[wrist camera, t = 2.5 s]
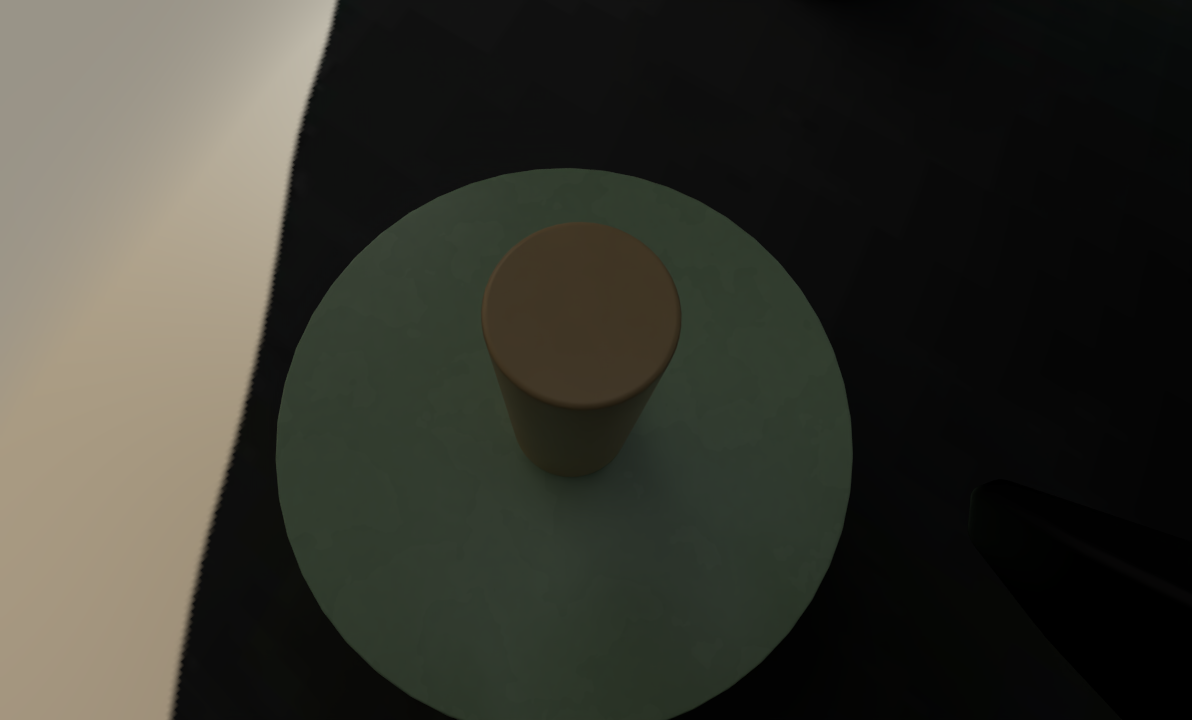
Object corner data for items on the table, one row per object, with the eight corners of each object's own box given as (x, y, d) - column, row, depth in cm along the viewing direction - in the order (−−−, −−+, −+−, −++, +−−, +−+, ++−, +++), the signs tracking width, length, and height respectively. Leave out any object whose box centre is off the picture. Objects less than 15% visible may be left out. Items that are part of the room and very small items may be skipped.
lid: (828, 759, 15) (1133, 981, 7) (229, 689, 15) (-150, 836, 7) (837, 226, 19) (1042, -21, 11) (360, 162, 18) (215, -138, 11)
